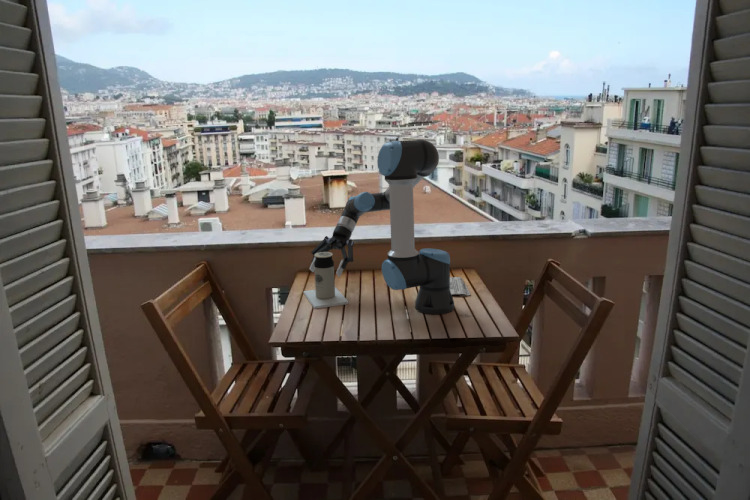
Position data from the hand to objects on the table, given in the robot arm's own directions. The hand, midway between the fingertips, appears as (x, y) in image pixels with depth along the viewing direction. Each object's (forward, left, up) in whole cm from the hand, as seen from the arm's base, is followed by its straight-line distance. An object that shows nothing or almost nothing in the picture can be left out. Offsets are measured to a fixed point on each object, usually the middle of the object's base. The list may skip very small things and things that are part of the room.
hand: (324, 272), depth 227 cm
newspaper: (-9, -55, -12) cm, 57 cm away
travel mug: (0, 0, -10) cm, 10 cm away
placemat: (0, 0, -11) cm, 11 cm away
